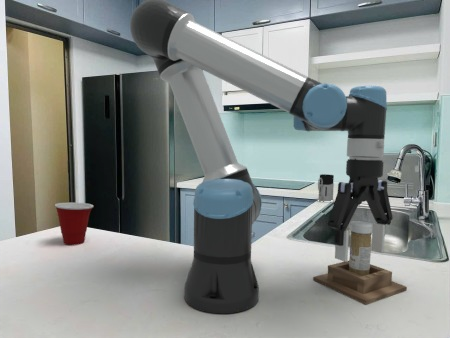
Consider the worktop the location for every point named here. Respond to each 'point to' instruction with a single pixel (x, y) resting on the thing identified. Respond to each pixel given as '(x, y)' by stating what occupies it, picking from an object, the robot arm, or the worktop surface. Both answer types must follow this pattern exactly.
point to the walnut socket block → (360, 283)
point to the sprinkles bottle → (360, 247)
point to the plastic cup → (73, 221)
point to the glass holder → (326, 187)
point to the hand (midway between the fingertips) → (360, 255)
